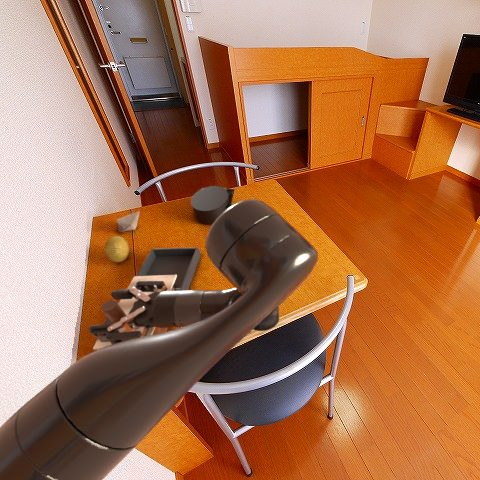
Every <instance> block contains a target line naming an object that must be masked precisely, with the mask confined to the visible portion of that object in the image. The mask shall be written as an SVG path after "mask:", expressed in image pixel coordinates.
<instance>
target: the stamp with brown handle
mask: <svg viewBox="0 0 480 480" xmlns="http://www.w3.org/2000/svg"><path fill="white" fill-rule="evenodd" d="M100 310H101V312H102V313H103V314H104V315H105V317H106V318H105V319H104V321H103V323H102V325H110V326H111V325H113V324H115V323H117V322H119V321H120V319H121V318H123V317H125V316H127V315H126V314H125V312H124V311H123V310H122V308H121V307H120V306H119V302H117V300H115V299H109V300H107V301H105V302H103V303H102V305H101V306H100ZM128 323H129V324H133V322H132V321H129V322H128ZM120 328H122V327H120ZM120 328H118V329H120ZM139 328H140V327H139ZM137 329H138V328H137ZM137 329H135V330H137ZM149 329H150V328H148V329H146V332H145V334H144V337H145V336H147V333H148V331H149ZM96 339H97V340H98V339H99V340H100V341H101V342H109V341H108V340H107V339H106V336H101V337H96Z"/></svg>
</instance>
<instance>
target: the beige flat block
mask: <svg viewBox="0 0 480 480" xmlns="http://www.w3.org/2000/svg"><path fill="white" fill-rule="evenodd" d="M176 277H177V275H159V276H136V275H134V276H133V277H132V279H131V281H130V283H129V284H128V286H127V288H126V289H131V288H132V287H135V286H136V283H137V282H138V281H164V283H165V285H166V287H167V291H175V290H174V288H173V284H174V282H175V280H176ZM145 287H147V286H145ZM143 293H144V294H146V295H149V294H151V293H153V292H143ZM135 301H137V300H136V299H135V298H134V297H133V298H132V299H120V300H119V302H118V304H119V306H120V307H121V308H122V310H123V311H124V312H125V314H126V315H129V312H130V310H131V309H132V308H133V304H134V302H135ZM168 329H169V328H158V327H151V328H150V329H149V331H148V333H147V336H149V335H154V334H158V333H163V332H167V331H168ZM109 345H112V344H111V343H110V342H101V341H100V340H99V339H98V338H97V340H96V342H95V344H94V345H93V347H92V350H93V351H96V350H98V349H101V348H103V347H106V346H109Z"/></svg>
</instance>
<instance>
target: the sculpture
mask: <svg viewBox="0 0 480 480" xmlns="http://www.w3.org/2000/svg"><path fill="white" fill-rule="evenodd" d="M104 253H105V256H106V257H107V259H108V260H109V261H112V262H114V263H121V262H123V261H125V260H126V259H127V258H128V256H129V253H130V246H129V242H128V241H127V240H126V239H125V238H124V237H122V236H119V235H118V236H117V235H116V236H115V235H114V236H112V237H110V238H109V239H108V240H107V241H106V242H105V245H104Z"/></svg>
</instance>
